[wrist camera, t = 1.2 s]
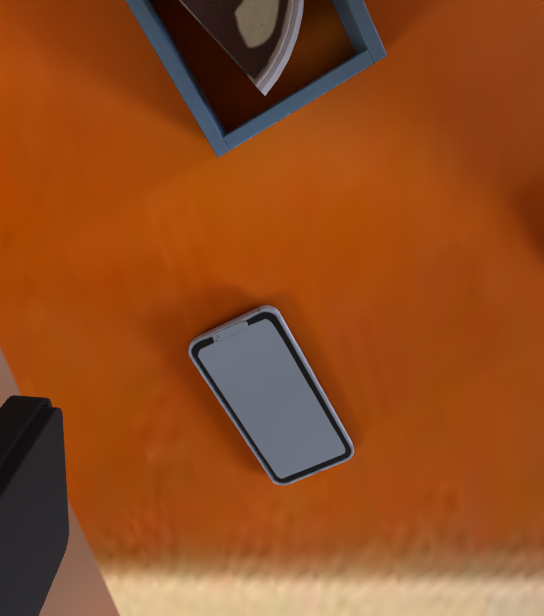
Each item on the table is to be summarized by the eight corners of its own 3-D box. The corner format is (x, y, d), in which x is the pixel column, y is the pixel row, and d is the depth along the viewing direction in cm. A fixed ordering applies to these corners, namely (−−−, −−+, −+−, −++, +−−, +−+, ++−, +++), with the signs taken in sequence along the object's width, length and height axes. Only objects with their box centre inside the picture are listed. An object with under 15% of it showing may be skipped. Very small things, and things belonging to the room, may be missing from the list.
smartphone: (276, 489, 43) (182, 347, 37) (276, 480, 44) (184, 340, 38) (359, 456, 42) (273, 303, 36) (356, 448, 42) (273, 298, 37)
